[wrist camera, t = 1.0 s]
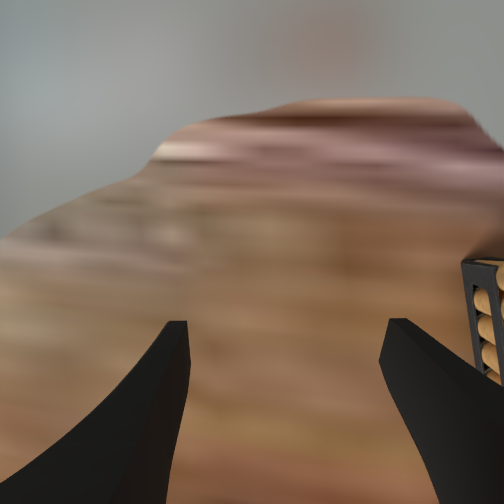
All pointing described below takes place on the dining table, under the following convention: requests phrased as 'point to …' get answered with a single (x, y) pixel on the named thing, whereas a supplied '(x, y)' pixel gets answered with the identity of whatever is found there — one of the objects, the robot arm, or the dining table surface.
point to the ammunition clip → (486, 313)
